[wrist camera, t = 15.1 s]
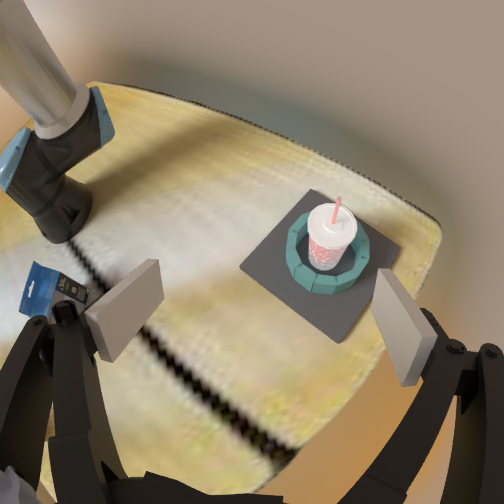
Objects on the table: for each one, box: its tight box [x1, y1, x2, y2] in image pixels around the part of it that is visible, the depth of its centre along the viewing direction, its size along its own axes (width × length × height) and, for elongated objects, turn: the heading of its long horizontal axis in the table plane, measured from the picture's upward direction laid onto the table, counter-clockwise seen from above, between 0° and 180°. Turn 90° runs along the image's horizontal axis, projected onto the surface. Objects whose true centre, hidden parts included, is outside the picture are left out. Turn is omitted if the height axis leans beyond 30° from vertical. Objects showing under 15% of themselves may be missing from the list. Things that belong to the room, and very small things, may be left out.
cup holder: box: [239, 189, 401, 343], centre depth 38 cm, size 18×18×5 cm
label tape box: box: [19, 261, 89, 324], centre depth 36 cm, size 9×4×12 cm, turn 173°
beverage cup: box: [308, 197, 357, 270], centre depth 33 cm, size 6×6×14 cm
